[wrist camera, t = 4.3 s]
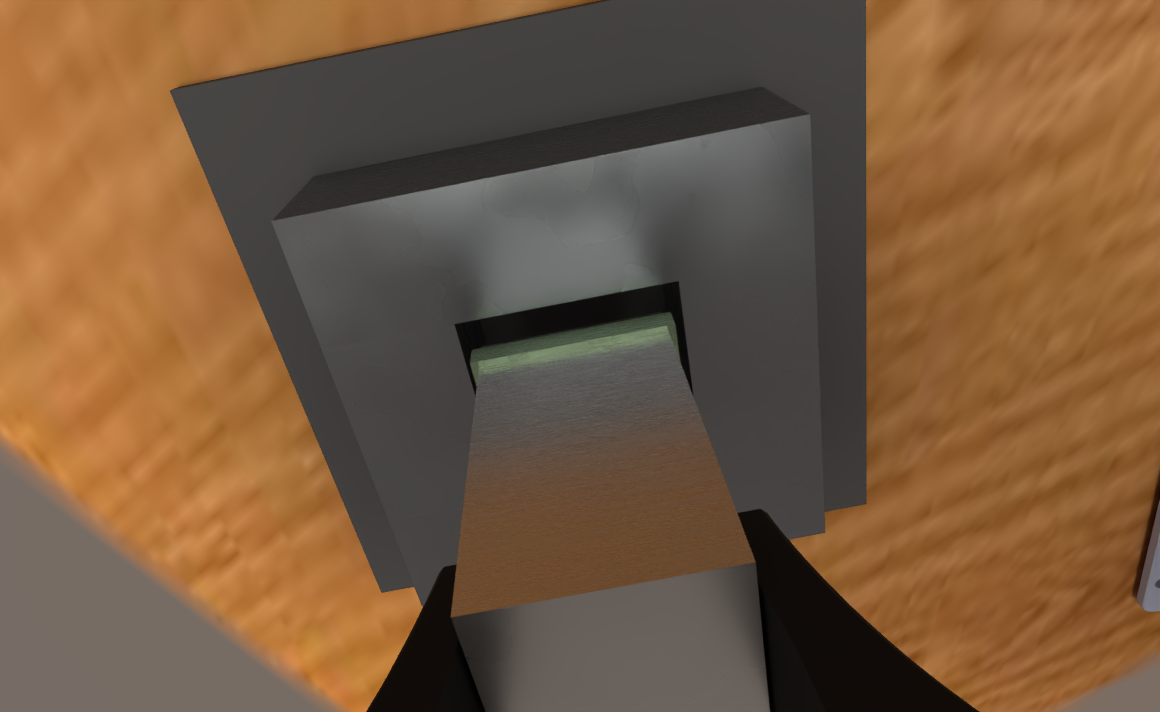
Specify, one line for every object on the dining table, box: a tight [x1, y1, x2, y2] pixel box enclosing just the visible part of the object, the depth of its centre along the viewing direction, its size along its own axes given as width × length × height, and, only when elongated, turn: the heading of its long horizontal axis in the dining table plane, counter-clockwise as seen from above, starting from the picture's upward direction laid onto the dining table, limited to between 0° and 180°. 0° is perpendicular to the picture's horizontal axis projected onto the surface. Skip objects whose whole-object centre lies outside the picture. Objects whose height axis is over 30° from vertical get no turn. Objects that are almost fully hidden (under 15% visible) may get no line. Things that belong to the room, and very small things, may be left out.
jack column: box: [451, 312, 770, 712], centre depth 14 cm, size 4×4×8 cm
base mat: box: [170, 0, 866, 593], centre depth 21 cm, size 16×16×1 cm
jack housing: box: [271, 87, 825, 606], centre depth 19 cm, size 11×11×4 cm
